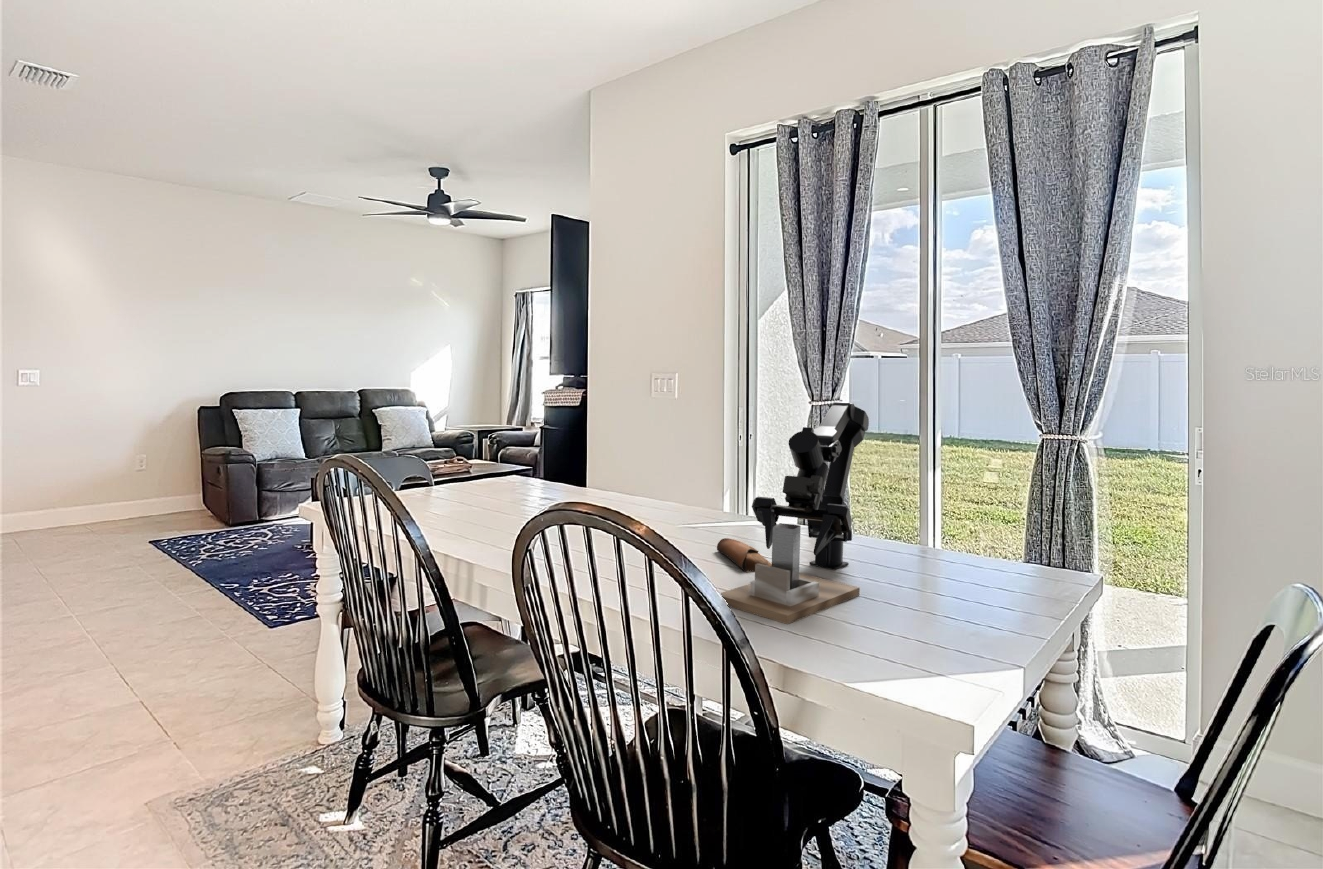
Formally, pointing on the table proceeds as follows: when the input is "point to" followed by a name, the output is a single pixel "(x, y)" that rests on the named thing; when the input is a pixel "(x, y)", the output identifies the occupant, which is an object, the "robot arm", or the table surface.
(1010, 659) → the table surface
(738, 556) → the sunglasses case
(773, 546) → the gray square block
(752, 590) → the keeper board
